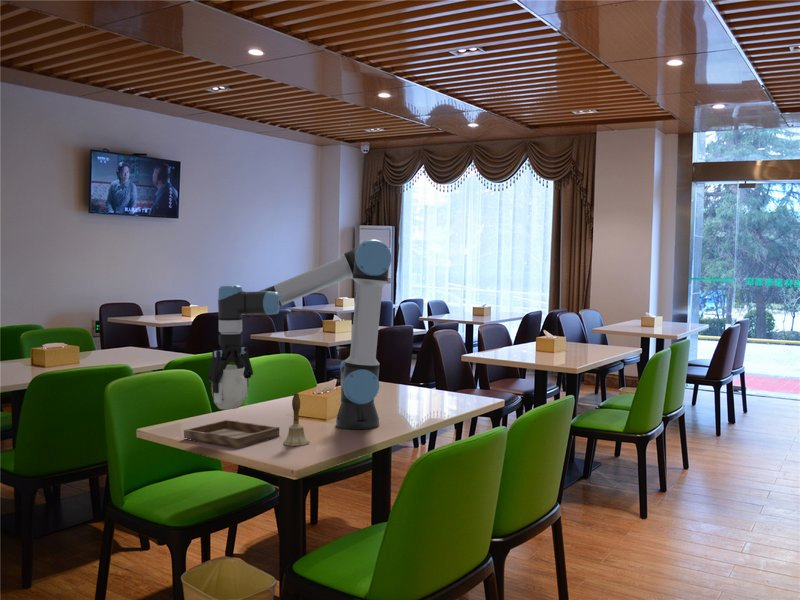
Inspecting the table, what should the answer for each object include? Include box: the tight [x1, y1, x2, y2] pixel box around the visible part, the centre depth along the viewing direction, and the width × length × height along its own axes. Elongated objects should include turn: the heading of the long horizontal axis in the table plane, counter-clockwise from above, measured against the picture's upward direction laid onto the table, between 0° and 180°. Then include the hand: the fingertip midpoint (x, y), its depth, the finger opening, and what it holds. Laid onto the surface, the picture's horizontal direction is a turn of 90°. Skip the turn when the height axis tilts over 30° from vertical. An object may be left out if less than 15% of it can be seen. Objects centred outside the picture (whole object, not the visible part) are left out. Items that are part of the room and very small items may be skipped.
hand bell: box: [282, 392, 310, 447], centre depth 233 cm, size 8×8×16 cm
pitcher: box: [211, 364, 248, 411], centre depth 241 cm, size 11×18×14 cm, turn 46°
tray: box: [183, 419, 280, 449], centre depth 241 cm, size 24×19×3 cm
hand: (231, 400), depth 241 cm, fingers closed on pitcher, 11 cm apart
